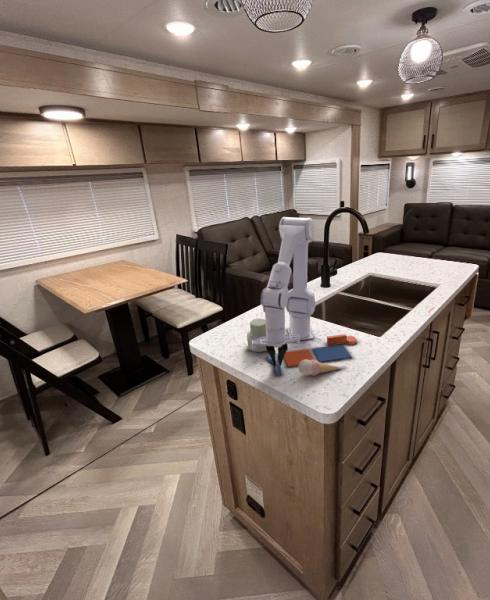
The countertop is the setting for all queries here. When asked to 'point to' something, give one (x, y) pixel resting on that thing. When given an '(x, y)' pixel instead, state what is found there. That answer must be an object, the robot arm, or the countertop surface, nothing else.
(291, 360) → the terracotta mat
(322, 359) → the blue mat
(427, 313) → the countertop surface
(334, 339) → the terracotta spoon
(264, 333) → the air freshener
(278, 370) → the blue spoon
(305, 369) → the ice cream cone
